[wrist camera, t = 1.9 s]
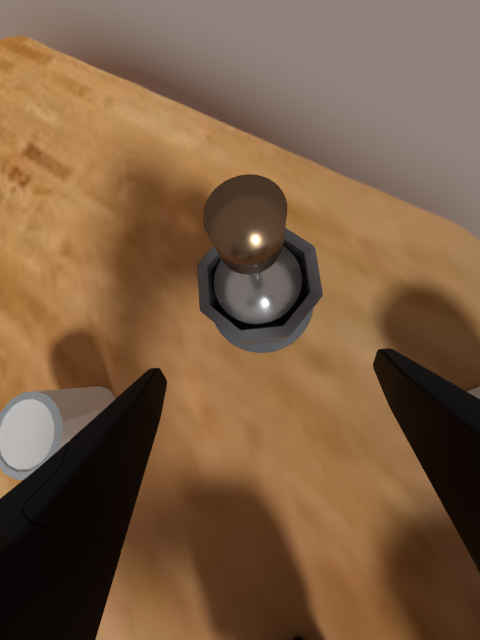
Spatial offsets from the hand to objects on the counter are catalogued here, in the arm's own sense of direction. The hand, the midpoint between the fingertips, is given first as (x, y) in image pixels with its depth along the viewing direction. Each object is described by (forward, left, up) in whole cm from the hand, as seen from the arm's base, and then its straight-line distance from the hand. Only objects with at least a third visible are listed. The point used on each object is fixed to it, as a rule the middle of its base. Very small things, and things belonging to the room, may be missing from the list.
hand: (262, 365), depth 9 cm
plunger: (+4, +5, -7) cm, 9 cm away
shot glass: (-18, +11, -14) cm, 25 cm away
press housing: (+4, +5, -13) cm, 15 cm away
